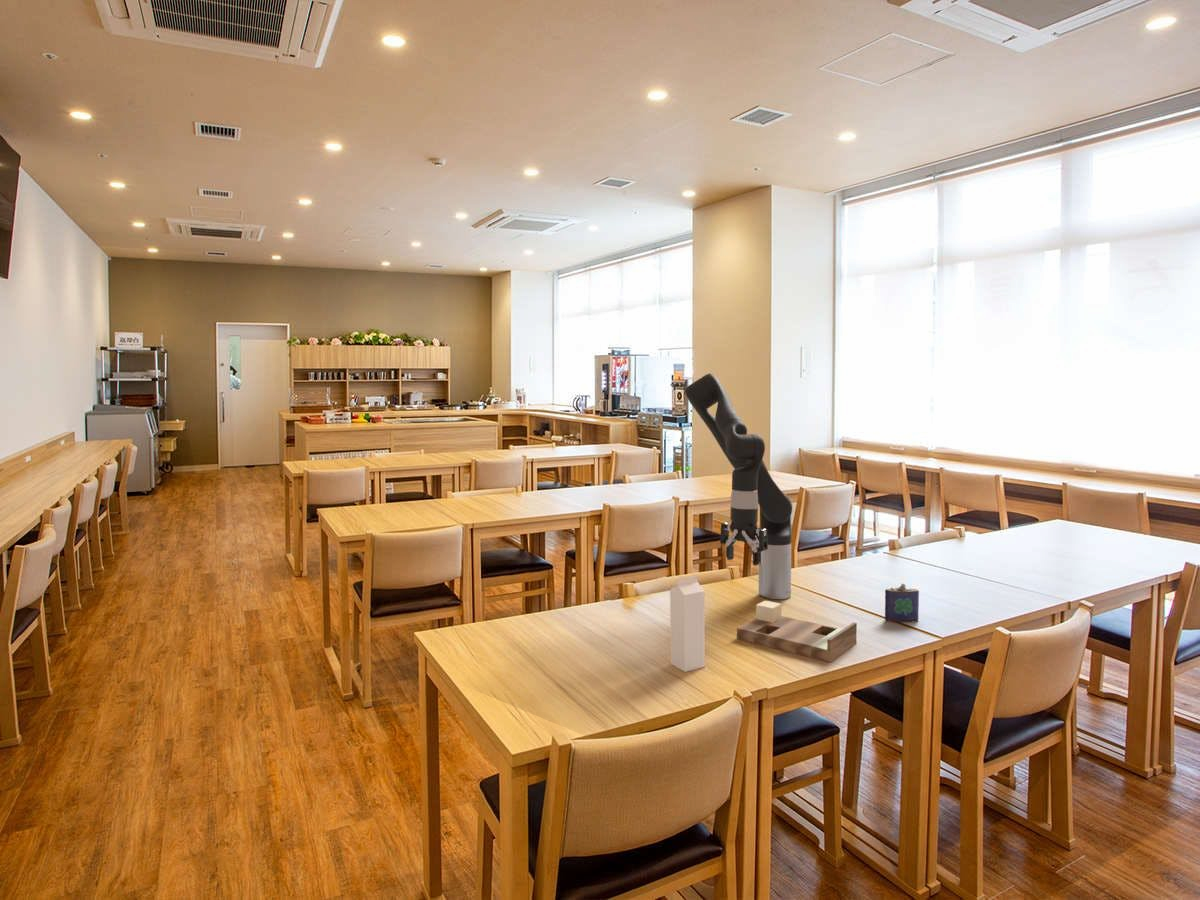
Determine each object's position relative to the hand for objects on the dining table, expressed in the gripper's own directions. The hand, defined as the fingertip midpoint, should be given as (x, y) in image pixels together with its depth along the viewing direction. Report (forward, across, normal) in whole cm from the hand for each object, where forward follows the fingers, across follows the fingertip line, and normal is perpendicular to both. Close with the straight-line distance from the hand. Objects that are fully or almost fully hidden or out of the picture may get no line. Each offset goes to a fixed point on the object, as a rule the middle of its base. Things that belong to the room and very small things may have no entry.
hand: (743, 562), depth 207 cm
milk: (+18, +8, -35) cm, 40 cm away
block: (+14, +9, 0) cm, 17 cm away
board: (+17, +19, -3) cm, 26 cm away
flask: (+17, +33, +30) cm, 48 cm away
